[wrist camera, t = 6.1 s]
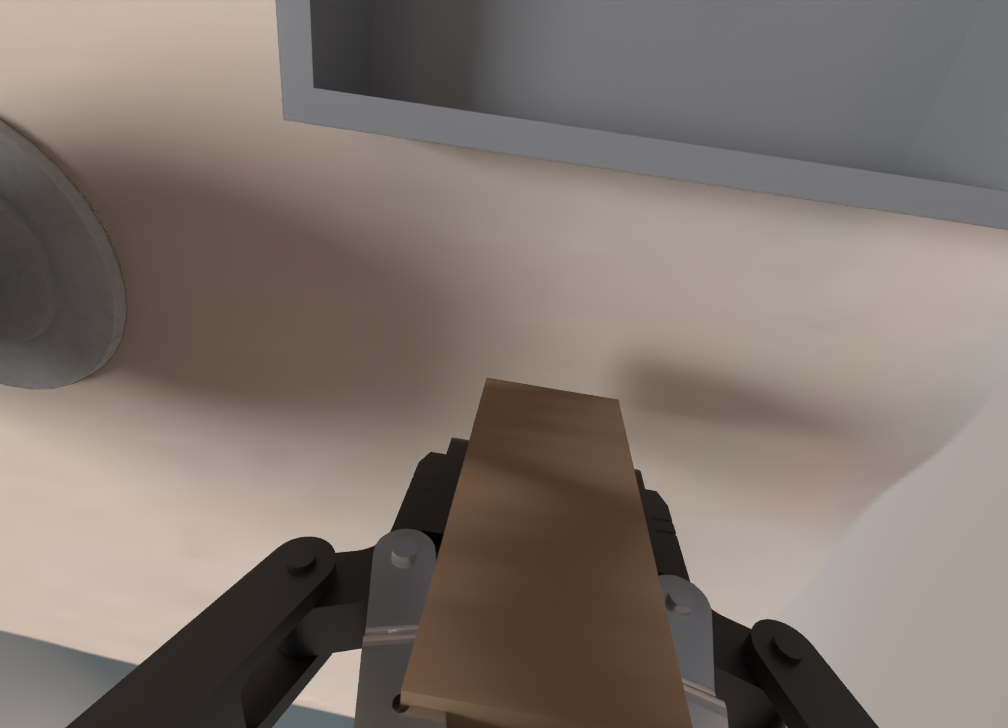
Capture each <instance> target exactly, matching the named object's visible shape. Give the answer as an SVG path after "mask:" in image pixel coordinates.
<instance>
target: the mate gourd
mask: <svg viewBox="0 0 1008 728" xmlns="http://www.w3.org/2000/svg"><path fill="white" fill-rule="evenodd" d="M126 316H127V308H126V293H125V286H124V282H123V278H122V274H121V270H120V266H119V262H118V259H117V257H116V255H115V252H114V250H113V248H112V246H111V243H110V241H109V239H108V237H107V234H106V232H105V230H104V228H103V227H102V225H101V224H100V222H99V220H98V219H97V217H96V216H95V214H94V212H93V211H92V209H91V208H90V206H89V204H88V203H87V201H86V200H85V198H84V197H83V196H82V195H81V194H80V192H79V191H78V190H77V189H76V187H75V186H74V185H73V184H72V183H71V181H70V180H69V179H68V178H67V176H66V175H65V174H64V173H63V172H62V170H61V169H60V168H58V167H57V166H56V165H55V164H54V163H53V162H52V161H51V160H50V159H49V158H48V157H47V156H46V155H45V154H44V153H43V152H42V151H41V150H40V149H38V148H37V147H36V146H35V145H34V144H33V143H32V142H30V141H29V140H28V139H26V138H25V137H24V136H22V135H21V134H20V133H18V132H17V131H15V130H14V129H13V128H11V127H10V126H9V125H7V124H6V123H4V122H3V121H2V120H0V384H4V385H7V386H13V387H20V388H26V389H53V388H57V387H61V386H65V385H69V384H73V383H75V382H77V381H79V380H80V379H82V378H84V377H86V376H88V375H89V374H91V373H93V372H95V371H96V370H98V369H100V368H102V367H103V366H104V364H105V363H106V362H107V361H108V360H109V359H110V358H111V357H112V356H113V355H114V354H115V352H116V350H117V347H118V345H119V343H120V341H121V339H122V337H123V333H124V327H125V321H126Z"/></svg>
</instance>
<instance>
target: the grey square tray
mask: <svg viewBox="0 0 1008 728" xmlns="http://www.w3.org/2000/svg"><path fill="white" fill-rule="evenodd" d="M276 15H277V29H278V44H279V58H280V73H281V88H282V102H283V117H284V120H287V121H294V122H301V123H307V124H314V125H320V126H327V127H334V128H340V129H347V130H353V131H360V132H366V133H373V134H380V135H386V136H393V137H399V138H406V139H413V140H419V141H426V142H432V143H439V144H446V145H452V146H459V147H465V148H472V149H478V150H485V151H492V152H498V153H505V154H511V155H518V156H525V157H531V158H538V159H544V160H551V161H558V162H564V163H571V164H577V165H584V166H590V167H597V168H604V169H610V170H617V171H623V172H630V173H637V174H643V175H650V176H656V177H663V178H670V179H676V180H683V181H689V182H696V183H703V184H709V185H716V186H722V187H729V188H735V189H742V190H749V191H755V192H762V193H768V194H775V195H782V196H788V197H795V198H801V199H808V200H815V201H821V202H828V203H834V204H841V205H847V206H854V207H861V208H867V209H874V210H880V211H887V212H894V213H900V214H907V215H913V216H920V217H927V218H933V219H940V220H946V221H953V222H959V223H966V224H973V225H979V226H986V227H992V228H999V229H1006V230H1008V0H276Z"/></svg>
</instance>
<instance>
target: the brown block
mask: <svg viewBox="0 0 1008 728" xmlns="http://www.w3.org/2000/svg"><path fill="white" fill-rule="evenodd" d="M410 705H415V706H421V707H426V708H432V709H437V710H442V711H446V726H447V728H693V726H692V722H691V718H690V713H689V709H688V704H687V700H686V696H685V691H684V687H683V682H682V678H681V674H680V669H679V665H678V660H677V656H676V652H675V647H674V643H673V638H672V634H671V630H670V625H669V621H668V616H667V612H666V608H665V603H664V599H663V594H662V590H661V586H660V581H659V577H658V572H657V568H656V564H655V559H654V555H653V551H652V546H651V542H650V537H649V533H648V529H647V524H646V520H645V515H644V511H643V507H642V502H641V498H640V493H639V489H638V485H637V480H636V476H635V471H634V467H633V463H632V458H631V454H630V449H629V445H628V441H627V436H626V432H625V427H624V423H623V419H622V414H621V410H620V405H619V401H618V400H617V399H611V398H605V397H599V396H593V395H587V394H581V393H575V392H569V391H563V390H557V389H551V388H545V387H539V386H533V385H527V384H521V383H515V382H509V381H503V380H497V379H491V378H486V382H485V386H484V389H483V393H482V396H481V400H480V404H479V407H478V411H477V415H476V418H475V422H474V426H473V429H472V433H471V437H470V440H469V444H468V448H467V451H466V455H465V459H464V462H463V466H462V469H461V473H460V477H459V480H458V484H457V488H456V491H455V495H454V499H453V502H452V506H451V510H450V513H449V517H448V521H447V524H446V528H445V532H444V535H443V539H442V543H441V546H440V550H439V553H438V557H437V561H436V564H435V568H434V572H433V575H432V579H431V583H430V586H429V590H428V594H427V597H426V601H425V605H424V608H423V612H422V616H421V619H420V623H419V626H418V630H417V634H416V637H415V641H414V645H413V648H412V652H411V656H410V659H409V663H408V667H407V670H406V674H405V678H404V681H403V685H402V689H401V698H400V713H404V712H406V711H407V710H408V709H409V707H410Z"/></svg>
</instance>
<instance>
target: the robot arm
mask: <svg viewBox="0 0 1008 728" xmlns="http://www.w3.org/2000/svg"><path fill="white" fill-rule="evenodd" d="M468 444H469V440H464V439H458V438H452V439H451V442H450V445H449V448H448V451H447V454H440V453H434V452H430V453H429V454H428V455H427V456H425V457H424V458H423V459H422V460H421V461H420V462H419V463H418V466H417V468H416V471H415V473H414V476H413V478H412V480H411V483H410V485H409V489H408V490H407V493H406V495H405V498H404V500H403V503H402V505H401V508H400V510H399V513H398V515H397V517H396V520H395V522H394V525H393V527H392V529H391V531H390V533H388V534H386V535H384V536H383V537H382V538H381V539H380V540H379V541H378V542H377V544H376V545H375V546H372V547H370V548H367V549H364V550H359V551H350V552H340V553H335V551H334V548H333V547H332V545H331V544H330V543H328V542H327V541H325V540H323V539H321V538H317V537H300V538H296V539H293V540H290V541H288V542H286V543H284V544H282V545H281V546H280V547H278V548H277V549H276V550H275V551H273V552H272V553H271V554H270V555H269V556H268V557H266V558H265V559H264V560H263V561H262V562H260V563H259V564H258V565H257V566H256V567H255V568H253V569H252V570H251V571H250V572H249V573H247V574H246V575H245V576H244V577H243V578H242V579H240V580H239V581H238V582H237V583H236V584H234V585H233V586H232V587H231V588H230V589H229V590H227V591H226V592H225V593H224V594H223V595H222V596H220V597H219V598H218V599H217V600H216V601H214V602H213V603H212V604H211V605H210V606H209V607H207V608H206V609H205V610H204V611H203V612H201V613H200V614H199V615H198V616H197V617H196V618H194V619H193V620H192V621H191V622H190V623H188V624H187V625H186V626H185V627H184V628H183V629H181V630H180V631H179V632H178V633H177V634H175V635H174V636H173V637H172V638H171V639H170V640H168V641H167V642H166V643H165V644H164V645H162V646H161V647H160V648H159V649H158V650H157V651H155V652H154V653H153V654H152V655H151V656H150V657H148V658H147V659H146V660H145V661H144V662H142V663H141V664H140V665H139V666H138V667H137V668H135V669H134V670H133V671H132V672H131V673H129V674H128V675H127V676H126V677H125V678H124V679H122V680H121V681H120V682H119V683H118V684H116V685H115V686H114V687H113V688H112V689H111V690H109V691H108V692H107V693H106V694H105V695H103V696H102V697H101V698H100V699H99V700H98V701H96V702H95V703H94V704H93V705H92V706H90V707H89V708H88V709H87V710H86V711H85V712H84V713H82V714H81V715H80V716H79V717H78V718H76V719H75V720H74V721H73V722H72V723H70V724H69V725H68V726H67V727H66V728H272V727H273V726H274V724H275V723H276V722H277V721H278V719H279V718H280V717H281V715H283V713H284V712H285V711H286V709H287V708H288V707H289V706H290V705H291V704H292V702H293V701H294V700H295V699H296V698H297V696H298V695H299V694H300V693H301V691H302V690H303V689H304V688H305V687H306V685H307V684H308V683H309V682H310V680H311V679H312V678H313V677H314V676H315V674H316V673H317V672H318V671H319V669H320V668H321V667H322V666H323V665H324V663H325V662H326V661H327V660H328V659H329V657H330V656H331V655H332V653H335V652H342V651H348V650H354V649H361V648H362V653H361V663H360V673H359V683H358V693H357V703H356V713H355V723H354V728H447V726H446V711H442V710H437V709H432V708H426V707H421V706H415V705H410V707H409V709H408V710H407V711H406V712H404V713H400V698H401V689H402V685H403V681H404V678H405V674H406V670H407V667H408V663H409V659H410V656H411V652H412V648H413V645H414V641H415V637H416V634H417V630H418V626H419V623H420V619H421V616H422V612H423V608H424V605H425V601H426V597H427V594H428V590H429V586H430V583H431V579H432V575H433V572H434V568H435V564H436V561H437V557H438V553H439V550H440V546H441V543H442V539H443V535H444V532H445V528H446V524H447V521H448V517H449V513H450V510H451V506H452V502H453V499H454V495H455V491H456V488H457V484H458V480H459V477H460V473H461V469H462V466H463V462H464V459H465V455H466V451H467V448H468ZM634 471H635V476H636V480H637V485H638V489H639V493H640V498H641V502H642V507H643V511H644V515H645V520H646V524H647V529H648V533H649V537H650V542H651V546H652V551H653V555H654V559H655V564H656V568H657V572H658V577H659V581H660V586H661V590H662V594H663V599H664V603H665V608H666V612H667V616H668V621H669V625H670V630H671V634H672V638H673V643H674V647H675V652H676V656H677V660H678V665H679V669H680V674H681V678H682V682H683V687H684V691H685V696H686V700H687V704H688V709H689V713H690V718H691V722H692V726H693V728H786V726H787V727H788V728H879V727H878V726H877V725H876V724H875V723H874V721H873V720H872V719H871V717H870V716H869V715H868V714H867V712H866V711H865V710H864V709H863V707H862V706H861V705H860V704H859V702H858V701H857V700H856V699H855V698H854V696H853V695H852V694H851V692H850V691H849V690H848V689H847V687H846V686H845V685H844V684H843V683H842V681H841V680H840V679H839V678H838V676H837V675H836V674H835V673H834V671H833V670H832V669H831V668H830V666H829V665H828V664H827V663H826V661H825V660H824V659H823V658H822V656H821V655H820V654H819V653H818V651H817V650H816V649H815V648H814V646H813V645H812V644H811V643H810V642H809V641H808V640H807V639H806V638H805V637H804V636H803V635H802V634H801V633H799V632H798V631H797V630H795V629H794V628H792V627H790V626H788V625H787V624H785V623H782V622H779V621H776V620H770V619H765V620H760V621H758V622H757V623H755V624H754V626H753V627H752V629H750V628H748V627H745V626H743V625H741V624H739V623H737V622H734V621H732V620H730V619H728V618H726V617H724V616H722V615H720V614H718V613H717V612H715V611H713V610H712V609H711V606H710V604H709V602H708V600H707V598H706V597H705V595H704V594H703V593H702V592H701V590H700V589H698V588H697V587H696V586H695V585H694V584H692V583H691V582H690V580H689V576H688V573H687V569H686V566H685V563H684V559H683V556H682V552H681V549H680V546H679V542H678V539H677V536H676V535H675V534H676V532H675V529H674V525H673V524H672V518H671V515H670V512H669V508H668V505H667V504H666V503H665V502H664V500H663V499H662V498H661V496H660V495H659V494H658V493H657V491H652V490H647V489H645V487H644V483H643V479H642V475H641V472H640V470H637V469H634Z"/></svg>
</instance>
